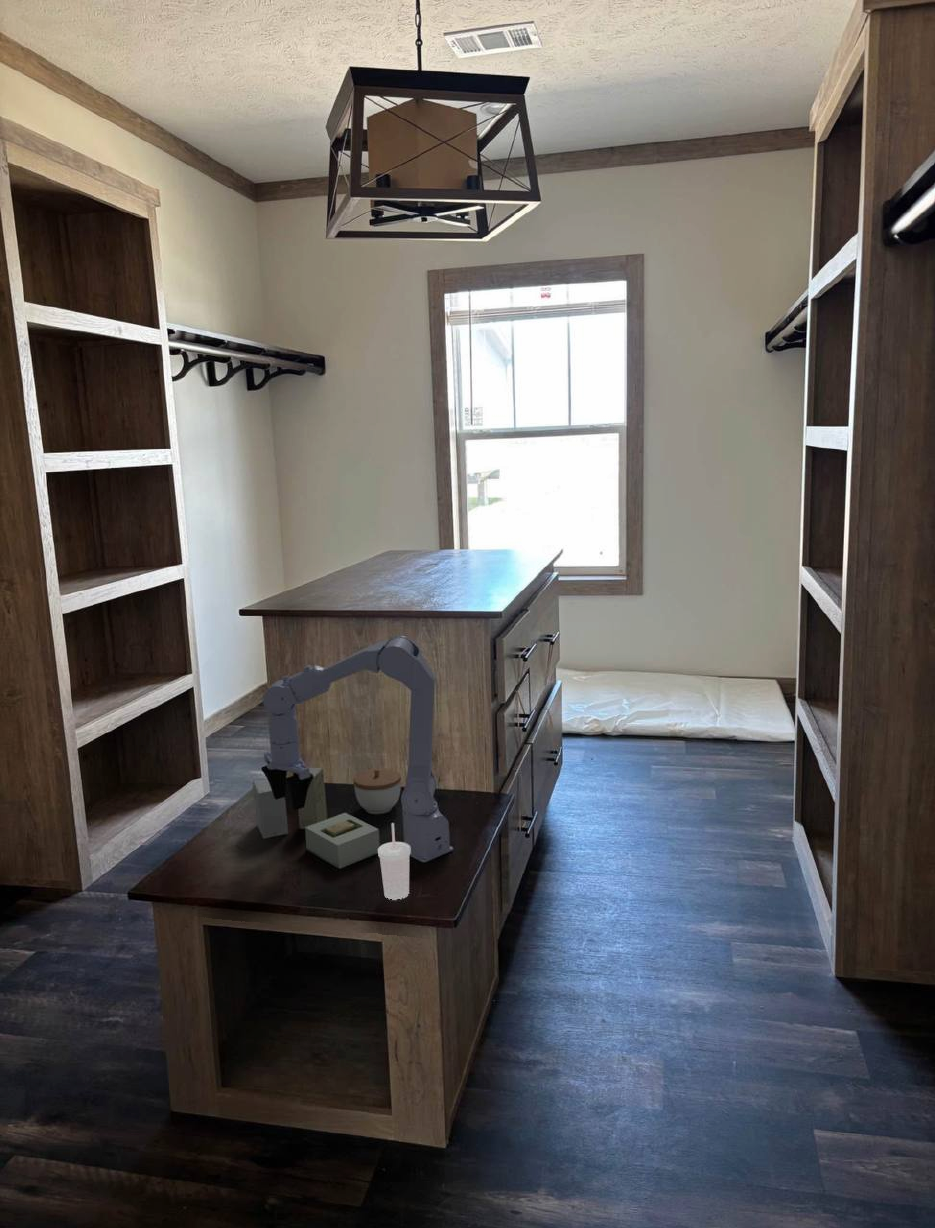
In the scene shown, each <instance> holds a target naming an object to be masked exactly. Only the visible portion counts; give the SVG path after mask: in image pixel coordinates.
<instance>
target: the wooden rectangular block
mask: <svg viewBox="0 0 935 1228" xmlns="http://www.w3.org/2000/svg"><path fill="white" fill-rule="evenodd" d="M353 830H355V827H354V824H352V823H350V822H347V821H343V822H341V823H338V824H336V825H333V826H331V827H328V828H326V834H327V835H329V836H330V837H332V838H334V837H337V836H340V835H342V834H345V833H347V832H350V831H353Z"/></svg>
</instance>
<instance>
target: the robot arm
mask: <svg viewBox="0 0 935 1228" xmlns="http://www.w3.org/2000/svg"><path fill="white" fill-rule="evenodd" d="M385 643H386V644H385ZM302 669H303V670H302V671H300V672H298V673H295V674H294V675H291V676H289V675H285V676H283V678H282V679H280V680H277V681H275V682H274V683H273V684H272V685H270V687H269V688H267V690H266V691H265V692H264V694H263V697H262V703H263V706H264V708H265V709H266V711H267V716H268V719H267V724H268V734H269V735H268V736H269V743H270V745H269V746H270V751H267V752H264V753H263V757H264V759H263V760H264V763H266V765H263V766H262V767H261V771H262V773H263V774H264V776H265V779H268V782H269V784H270V787H271V789H272V792H273V795H274V798H275V799H276V800H277V799H280V798H283V797H285V798H286V792H287V791H286V788H287V787H288V788H287V789H288V790H289V793H290V798H291V804H292V808H293V809H294V810H295V811H298V809H301V808H304V806H305V801H306V795H307V791H308V788H309V785H310V783H311V781H312V779H313V774H311V773H310V771H309V768H308V766H307V765H306V764H305V762H304V761H303V759H302V758H301V754H300V753H301V752H300V740H299V729H298V728H299V727H298V715H297V709H296V705H297V704H299V705H300V704H303V703H305V702H307V701H308V700H311V699H314V698H317V697H318V696H320V695H324V694H325V693H328V691H330V687H331V684H332V683H334V682H337V681H339V680H342V679H344V678H346V677H349V676H352V675H354V674H357V673H361V671H364V670H366V671H369V672H373V673H376V674H378V673H379V672H380V671H381V672H382V674H384V675H385V676H387V677H389V678H391V679H393V680H396V681H398V682H401V683H402V684H403V686H405V687H407V689H409V690H410V710H409V711H410V712H409V741H408V763H407V764H408V765H407V766H408V767H407V774H406V781H405V785H404V789H403V790H402V793H401V796H400V801H401V805H402V807H401V810H402V813H401V814H402V827H403V842H404V843H407V844H408V845H410V848H411V853H410V855H409V857H412V858H413V859H416V860H417V861H419V862H422V863H427V862H429V861H431V860H434V859H436V858H438V857H442V855H445V854H448V853H450V852H451V851H453V850H454V847H453V846H450V845H451V844H450V843H451V841H450V840H451V839H450V824H449V821H448V819H447V818H446V817H445V816H444V815H443V814H442V813H441V812H440V810H439V806H438V802H437V800H436V799H435V797H434V795H435V791H436V788H437V780H436V778H435V775H434V772H433V762H432V761H433V756H432V755H433V740H434V739H433V735H434V734H433V733H434V716H435V715H434V712H435V711H434V710H435V693H436V692H435V688H436V685H435V684H436V679H435V675H434V673H433V672H432V669H431V668H430V666H429V665H428V663H427V661H426V660H425V658H424V656H423V653H422V651H421V648H420V647H419V645H417V644H416V643H415V642H413V641H412V640H411V639H409V638H408V637H406V636H403V635H397V636H393V637H391V638H390V639H388V641H387V640H386V639H385V640H382V641H379V642H376V643H374V644H371V645H370V646H369V645H368V646H367V647H365V648H363V649H361V650H359V651H357V652H354V653H353V654H351V655H348V657H347V656H346V657H345V658H343V659H341V660H339V661H336V662H335V663H332V664H331V665H329V666H327V667H323V666H320V665H314V666H312V665H310V664H308V665H306V666H304V667H303V668H302ZM288 772H290V773H291V774H292V776H289V777H287V775H288Z"/></svg>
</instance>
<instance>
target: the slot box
mask: <svg viewBox="0 0 935 1228" xmlns="http://www.w3.org/2000/svg"><path fill="white" fill-rule="evenodd" d="M343 821H347V822H350V823H352V824H354V827H355V830H353V831H350V832H347V833H345V834H342V835H340V836H337V837H334V838H332V837H330V836H329V835H327V834H326V828H328V827H331V826H333V825H336V824H338V823H341V822H343ZM304 833H305V844H306V845H305V847H306V851H308V852H309V853H311V854H313V855H315V856H316V857H318V858H320V859H322V860H324V862H327V863H328V864H330V865H332V866H333V867H335V868H337V869H343V868H345V867H347V866H350V865H352V864H355V863H357V862H360V861H362V860H365V859H367V858H370V857H372V856H375V855H377V854H378V848H379V847H380V846H381V845H380V830H379V828H377V827H375V826H373V825H371V824H369V823H367V822H365V821H363V820H361V819H359V818H357V817H355V816H353V815H350V814H348V813H347V812H343V813H341V814H337V815H336V816H332V817H330V818H327V820H324V821H321V822H318V823H316V824H313V825H310V826H307V827H305V829H304Z"/></svg>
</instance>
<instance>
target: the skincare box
mask: <svg viewBox="0 0 935 1228" xmlns="http://www.w3.org/2000/svg"><path fill="white" fill-rule="evenodd" d="M307 767H308V766H307ZM308 768H309V771H310V773H311V774H313V779H312V781H311V783H310V785H309V788H308V791H307V795H306V801H305V806H304V808H301V809H298V810H297V811H298V820H299V821H298V823H299V829H300V830H305V827H307V826H310V825H313V824H316V823H318V822H321V821H324V820H327V819H328V808H327V801H326V799H327V797H326V788H325V787H326V786H325V775H324V774H325V772H324V767H314V766H313V767H311V766H310V767H308Z"/></svg>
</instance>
